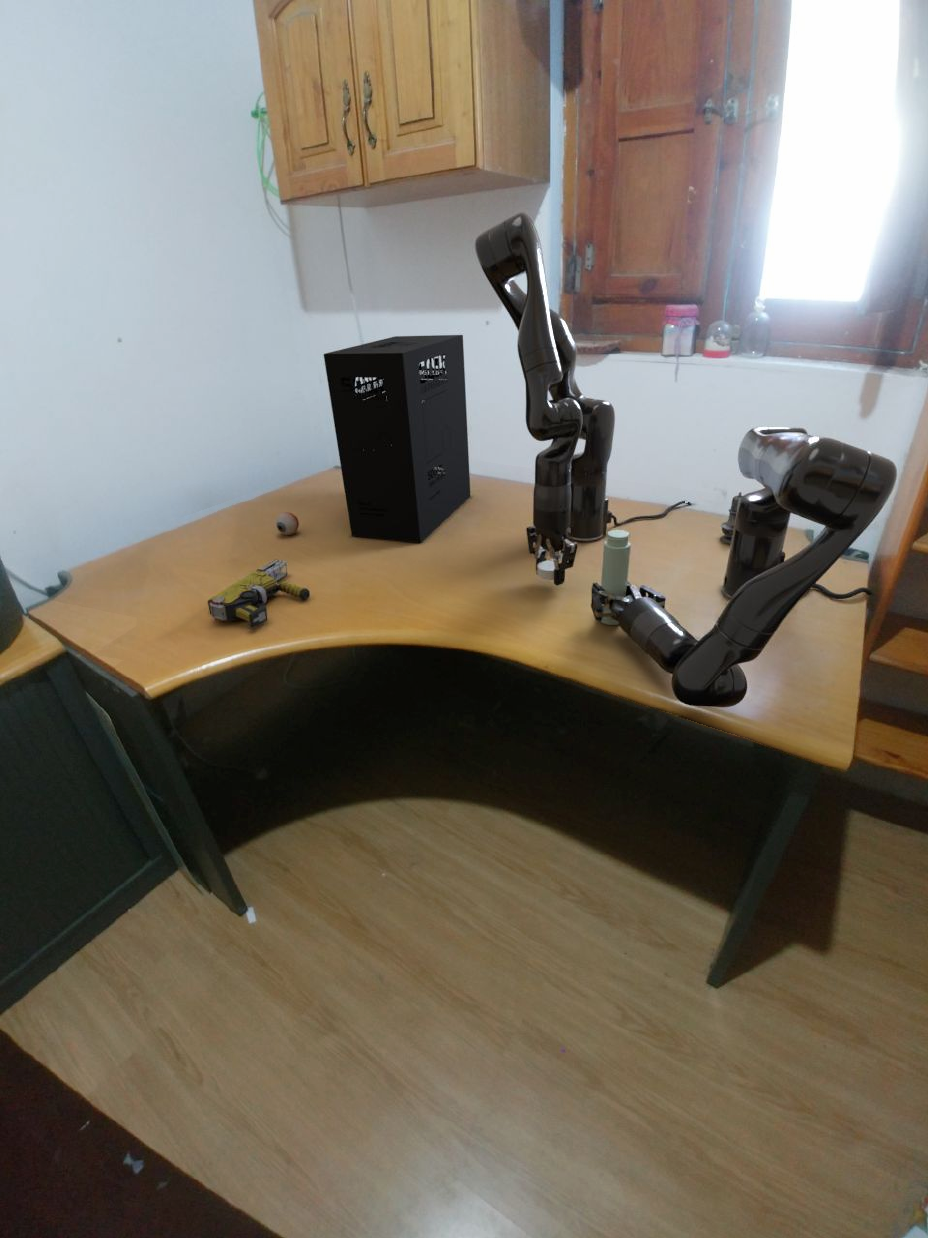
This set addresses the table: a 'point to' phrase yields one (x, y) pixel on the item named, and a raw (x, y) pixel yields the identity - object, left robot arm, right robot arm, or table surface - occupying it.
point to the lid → (546, 570)
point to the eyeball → (287, 523)
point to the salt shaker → (730, 521)
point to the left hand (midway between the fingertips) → (549, 578)
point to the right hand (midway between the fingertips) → (607, 585)
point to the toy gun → (253, 595)
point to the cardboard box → (401, 434)
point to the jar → (615, 566)
